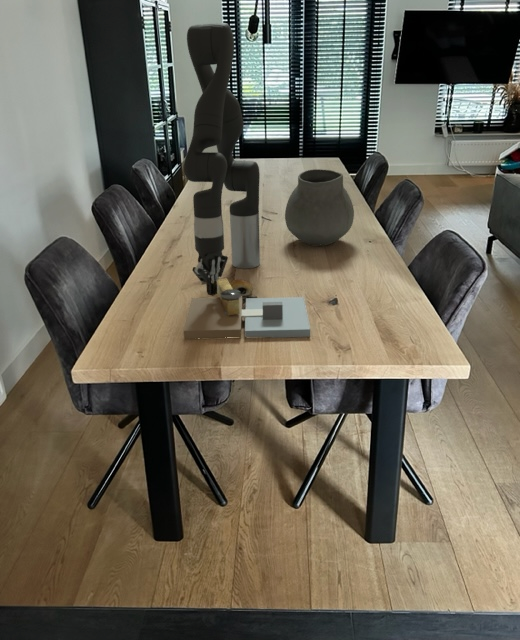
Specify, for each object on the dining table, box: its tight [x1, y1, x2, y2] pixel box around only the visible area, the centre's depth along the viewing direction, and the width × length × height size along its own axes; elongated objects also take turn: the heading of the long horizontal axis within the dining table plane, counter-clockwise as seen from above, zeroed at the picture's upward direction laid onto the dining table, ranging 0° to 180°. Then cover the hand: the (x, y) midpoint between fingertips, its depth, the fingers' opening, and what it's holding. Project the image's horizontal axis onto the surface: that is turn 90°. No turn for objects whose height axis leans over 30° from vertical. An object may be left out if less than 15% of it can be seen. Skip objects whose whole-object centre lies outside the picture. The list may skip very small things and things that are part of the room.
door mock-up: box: [183, 296, 311, 340], centre depth 148 cm, size 20×31×6 cm, turn 91°
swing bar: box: [216, 277, 241, 315], centre depth 151 cm, size 16×5×5 cm, turn 15°
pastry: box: [229, 279, 253, 297], centre depth 167 cm, size 9×7×4 cm
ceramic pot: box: [284, 168, 355, 247], centre depth 201 cm, size 24×24×25 cm
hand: (212, 294), depth 154 cm, fingers closed
